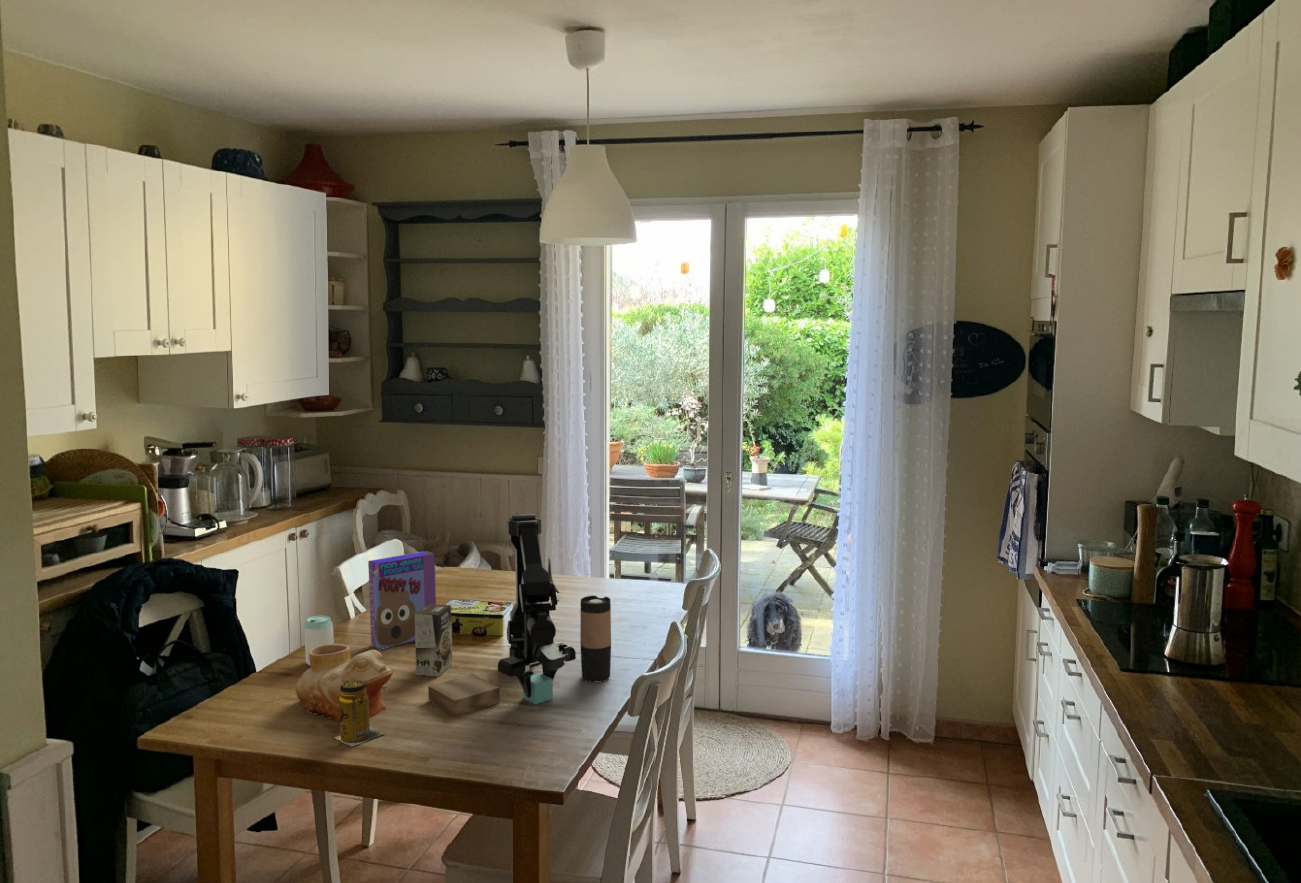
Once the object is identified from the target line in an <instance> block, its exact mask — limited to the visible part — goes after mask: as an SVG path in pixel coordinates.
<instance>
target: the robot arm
mask: <svg viewBox="0 0 1301 883" xmlns="http://www.w3.org/2000/svg"><path fill="white" fill-rule="evenodd" d="M505 530H506V534H507V535H508V539H509V540H510V541H511V544H512V545H513V547H514V552H515V553H514V556H515V557H514V558H515V559H514V560H515V561H514V562H515V564H514V566H515V604H514V606H513V607H512V609H511V611H510V613H509V620H508V621H507V626H506V639H507V640H506V641H507V643H508V645H510V647H509V649H508V650H509V656H508V657H505V658H500V659H499V661H498V662H497V671H498V672H499V673H501V674H503V675H505V676H507V677H510V678H515V677H516V678H517V679H518V681H519V683H520V686H521V688H522V691H523V690H524V692H525V694H526V696H527V697H528V698H530V696H531V676H532V675H534V671H533V672H532V671H531V670H530V667H532V666H535V665H540V664H541V667H542V674H544V675H546V676H548V677H550V678H552V679H553V680H554V678H555V676H556V674H557V671H558V670H559V669H562V668H563V667H564V666H565V664H566V663H568V662H571V661H575V660H576V658H577V656H576V655H577V654H576V650H575V648H574V647H573V646H570V645H569V643H568V642H565V643H563V642H560V643H557V644H555V643H554V639H555V636H556V635H557V634H556V633H557V629H556V625H555V624H554V621H553V620H552V617H551V616H550V611H557V609H556V606H558V602H559V601H558V595H557V596H556V589H555V586H556V585H555V583H554V581H553V582H550V577H549V573H548V570H546V569H545V568H544V567H543V562H542V556H541V550H540V542H539V535H540V534H542V518H540V517H536V514H535V513H525V514H523V513H522V514H521V513H520V514H510V518H508V519H506V520H505ZM553 583H554V584H553ZM554 585H555V586H554ZM549 600H551V601H549Z"/></svg>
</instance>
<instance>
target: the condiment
mask: <svg viewBox="0 0 1301 883" xmlns="http://www.w3.org/2000/svg"><path fill="white" fill-rule="evenodd" d="M340 689H341V693H340V694H341V696H340V698H339V709H340V722H339V730H340V731H339V732H340V734H339V735H337V736H341V743H342V744H345V745H348V746H350V747H354V746H357V745H360V744H363V743H365V742H368V741H370V740H372V739H375V738H378V737H380V736H382V735H385V734H386V733H385V732H383V731H380V730H377V729H376V728H374V727H372V726H371V725H370V718H369V699H368V694H367V693H366V691H367V690H366V683H365V682H364V681H361V680H351V681H347V682H345V683H343V684H341V687H340ZM338 740H339V739H338ZM338 740H337V741H338ZM342 741H343V742H342Z"/></svg>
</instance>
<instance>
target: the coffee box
mask: <svg viewBox="0 0 1301 883" xmlns="http://www.w3.org/2000/svg"><path fill="white" fill-rule="evenodd" d="M452 635H453V634H452V605H451V604H436V605H432V604H429V605H427V606H426V607H424V608H423V609H421V610H420V611H418V612H417V613H415V642H414V643H415V645H414V647H415V675H416V676H423V675H425V677H434V676H435V677H436V678H438V677H439V676H441V675H442V674H443V673H444V672H446V671H447V670H448V669H449V668H451V667H452V666H453V638H452Z"/></svg>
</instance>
